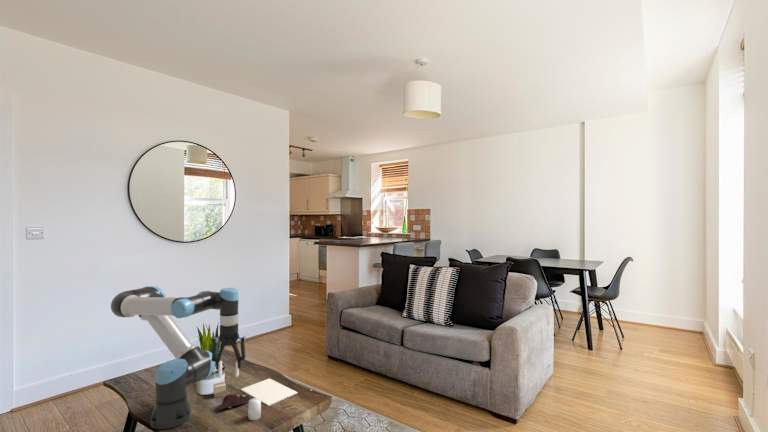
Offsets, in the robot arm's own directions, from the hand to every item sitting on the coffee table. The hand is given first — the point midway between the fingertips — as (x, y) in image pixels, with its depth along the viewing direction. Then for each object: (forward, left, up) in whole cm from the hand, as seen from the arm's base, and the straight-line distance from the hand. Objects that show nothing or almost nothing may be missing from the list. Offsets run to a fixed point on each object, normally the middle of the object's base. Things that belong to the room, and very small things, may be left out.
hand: (228, 376), depth 166 cm
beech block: (+16, +8, -15) cm, 23 cm away
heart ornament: (-1, -2, -15) cm, 16 cm away
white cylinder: (-8, -12, -15) cm, 21 cm away
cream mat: (+15, -15, -15) cm, 26 cm away
